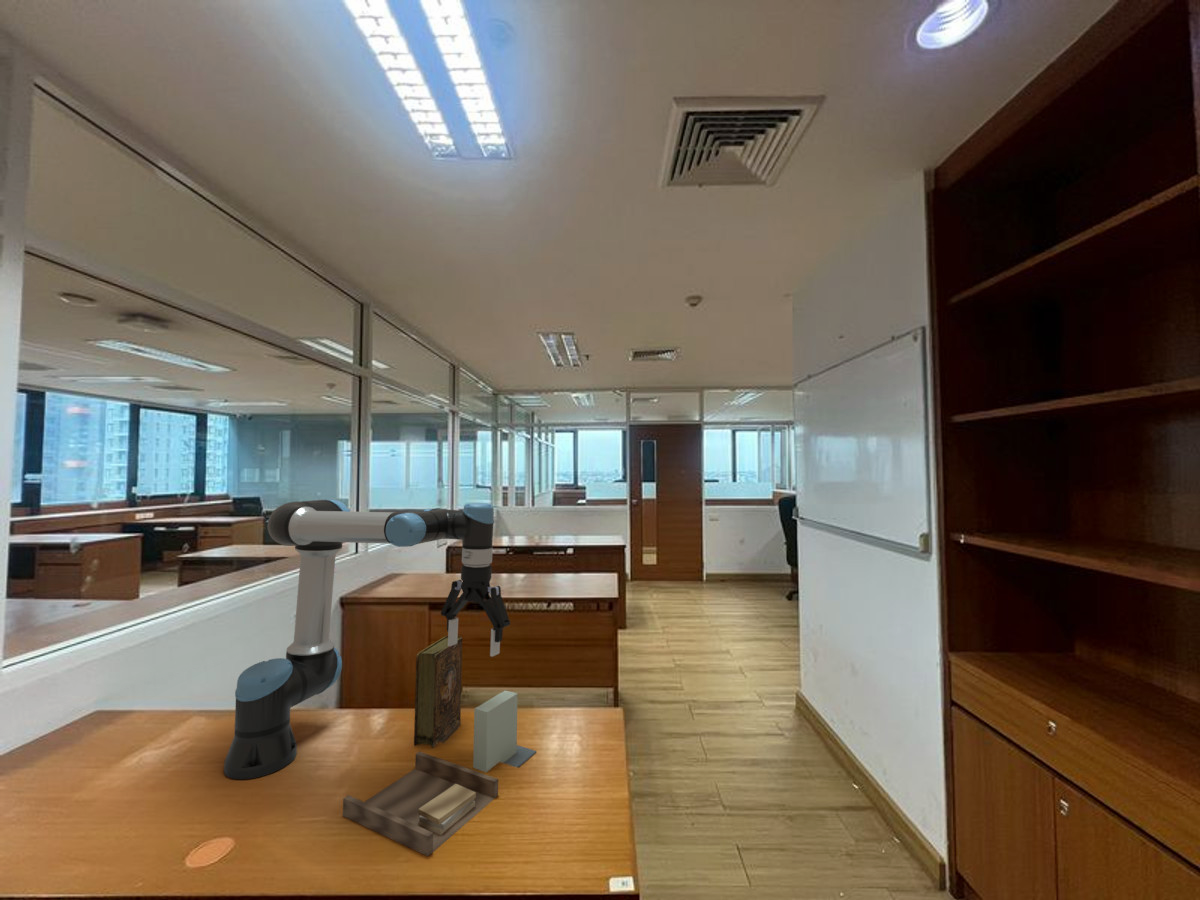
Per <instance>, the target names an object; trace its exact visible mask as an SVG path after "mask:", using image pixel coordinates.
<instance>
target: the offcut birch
mask: <svg viewBox="0 0 1200 900" xmlns="http://www.w3.org/2000/svg"><path fill="white" fill-rule="evenodd" d="M473 807H475V801H473V802H472V803H471V804H470V805H469V806H468V807H466V808H465V809H464V810H463V811H462V812H461V813H460V814H459V815H458V816H457V817H456V818H455V819H454V820H453V821H452V822H451V823H450V824H449V825H448V826H447V827H446V828H445V829H444V830H442V829H440V828H437V827H434V826H431V825H428V824H425V823H422V822H418V825H419V826H421V827H423V828H425V829H428V830H430V831H432V832H434V833H437V834H439V835H441V834H443V833H444V832H445V831H446V830H447V829H449V828H450V827H451V826H452V825H453V824H454V823H456V822H457V821H458V820H459V819H460V818H462V817H463V816H464V815H465V814H466V813H467V812H469V811H470V810H471V809H472V808H473Z"/></svg>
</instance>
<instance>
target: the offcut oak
mask: <svg viewBox="0 0 1200 900" xmlns="http://www.w3.org/2000/svg"><path fill="white" fill-rule="evenodd" d="M474 798H476V792H473V791H471V790H469V789H467V788H465V787H462V786H460V785H458V784H455V785H453V786H452V787H450V788H449V789H447V790H446V791H444V792H443V793H441V794H440V795H438V796H437V797H435V798H434V799H432V800H431V801H429V802H428V803H426V804H425V805H423V806H422V807H420V808H419V809H418V814H419V815H421V816H423V817H425V818H427V819H429V820H431V821H433V822H435V823H436V824H438V825H439V824H440V823H442V822H443V821H444V820H446V819H447V818H449V817H450V816H451V815H453V814H454V813H455V812H457V811H458V810H459V809H461V808H462V807H464V806H465V805H466V804H468V803H469V802H470V801H472V800H473V799H474Z"/></svg>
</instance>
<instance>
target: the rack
mask: <svg viewBox="0 0 1200 900" xmlns="http://www.w3.org/2000/svg"><path fill="white" fill-rule="evenodd" d="M414 759H415V762H414V764H415V765H414V766H415V767H414V769H412V770H411V771H409V772H408V773H406V774H405V775H402V777H400V778H399V779H397V780H396V781H394V782H393V783H390V785H388V786H387V787H385V788H383V789H382V790H380V791H379V792H377V793H376V794H374V795H372V796H371V797H369V798H368V799H366V800H365V801H363V800H361V799H358V798H356V797H354V796H351V795H350V794H348V795H346V796H345V797H343V801H342V806H343V807H342V817H343V818H346V819H348V820H351V821H352V822H354V823H356V824H359V825H361V826H363V827H365V828H367V829H369V830H371V831H373V832H375V833H378V834H380V835H382V836H385V837H386V838H388V839H390V840H392V841H395V842H396V843H398V844H400V845H403V846H404V847H407V848H409V849H411V850H414V851H416V852H418V853H420V854H422V855H424V856H426V857H429V856H430V855H432V853H434V852H435V851H436V850H438V848H440V847H441V846H442V845H443V844H445V842H447V840H449V839H450V838H451V837H452V836H453V835H454V834H456V833H457V832H458V831H459V830H460V829H461V828H463V827H464V826H465V825H466V824H467V823H469V821H470V820H472V819H473V818H474V817H476V815H478V814H479V813H480V812H481V811H482V810H483V809H484V808H486V807H487V805H489V804H490V803H492V802H493V800H495V799H496V798H497V797H498V796H499V778H497V777H494V776H491V775H487V774H485V773H482V772H478V770H477V771H476V770H475V769H474V770H473V769H471V768H469V767H465V766H462V765H459V764H456V763H454V762H451V761H448V760H445V759H442V758H439V757H438V756H437V757H436V756H434V755H431V754H429V753H425V752H422V751H418V752H416V753H415V758H414ZM455 784H458V785H460V786H462V787H465V788H467V789H469V790H471V791H473V792H476V798H474V801H475V807H473V808H472V809H471V810H470V811H469V812H467V813H466V814H465V815H464V816H463V817H462V818H460V819H459V820H458V821H457V822H456V823H454V824H453V825H452V826H451V827H450V828H449V829H447V830H446V831H445V832H444V833H443V834H441V835H439V834H437V833H434V832H432V831H430V830H428V829H425V828H423V827H421V826H419V825H418V822H419V816H421V815H419V814H418V809H419V808H420V807H422V806H423V805H425V804H426V803H428V802H429V801H431V800H432V799H434V798H435V797H437V796H438V795H440V794H441V793H443V792H444V791H446V790H447V789H449V788H450V787H452V786H453V785H455Z"/></svg>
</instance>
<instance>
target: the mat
mask: <svg viewBox="0 0 1200 900" xmlns="http://www.w3.org/2000/svg"><path fill="white" fill-rule="evenodd" d="M536 754H537V750H534V749H531V748H528V747H525V746H521V745H518V744H517V753H516V754H514V755H513V756H512V757H510V758H509V759H508V760H507V761H505V762H504V763H503V764H505V765H509V766H511V767H515V768H517V769H519V768H520V767H521V766H522V765H524V764H525V763H526V762H527V761H528V760H529V759H531V758H532V757H533V756H534V755H536Z"/></svg>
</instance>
